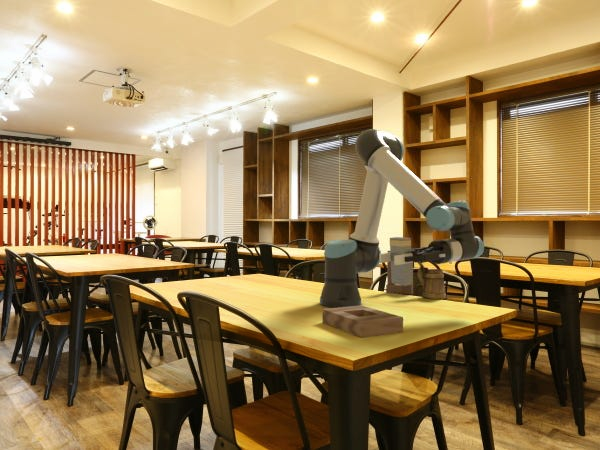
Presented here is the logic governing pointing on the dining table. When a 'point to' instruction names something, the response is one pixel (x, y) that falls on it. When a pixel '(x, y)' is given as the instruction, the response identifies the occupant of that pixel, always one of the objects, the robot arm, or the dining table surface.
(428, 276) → the wooden mug
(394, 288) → the wooden block
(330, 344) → the dining table surface
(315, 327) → the dining table surface
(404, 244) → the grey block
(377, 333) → the walnut post block
